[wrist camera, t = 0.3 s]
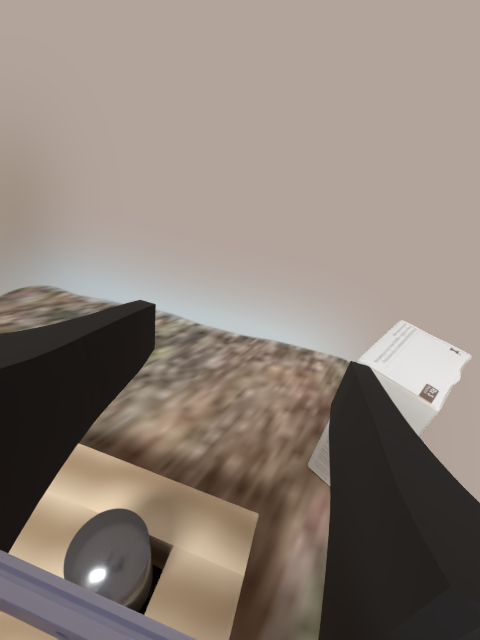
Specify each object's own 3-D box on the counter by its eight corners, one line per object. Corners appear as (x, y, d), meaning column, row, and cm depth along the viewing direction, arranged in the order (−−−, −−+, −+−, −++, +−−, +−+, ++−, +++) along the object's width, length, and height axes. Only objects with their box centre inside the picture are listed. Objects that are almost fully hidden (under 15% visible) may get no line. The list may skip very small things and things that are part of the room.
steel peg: (127, 643, 16) (118, 619, 13) (62, 610, 17) (43, 581, 14) (164, 557, 19) (163, 524, 17) (109, 532, 20) (100, 497, 17)
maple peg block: (178, 831, 14) (180, 846, 11) (-209, 593, 19) (-276, 562, 16) (248, 543, 24) (258, 513, 21) (-17, 434, 28) (-38, 397, 26)
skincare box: (345, 423, 35) (398, 315, 26) (396, 461, 31) (476, 351, 23) (303, 469, 29) (353, 352, 21) (360, 521, 26) (446, 406, 18)
